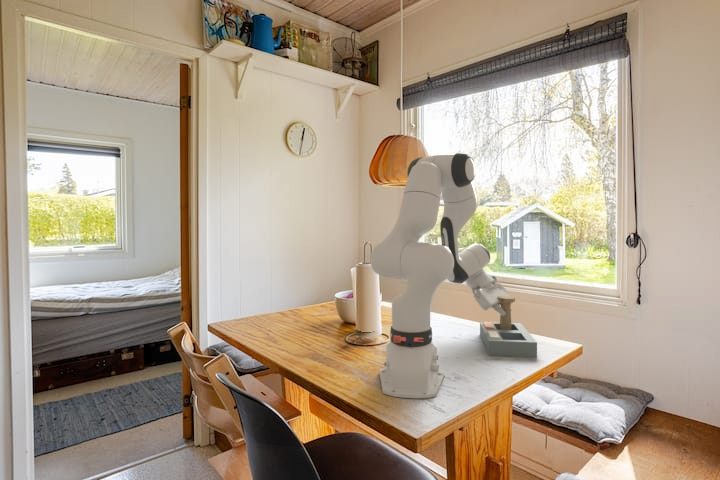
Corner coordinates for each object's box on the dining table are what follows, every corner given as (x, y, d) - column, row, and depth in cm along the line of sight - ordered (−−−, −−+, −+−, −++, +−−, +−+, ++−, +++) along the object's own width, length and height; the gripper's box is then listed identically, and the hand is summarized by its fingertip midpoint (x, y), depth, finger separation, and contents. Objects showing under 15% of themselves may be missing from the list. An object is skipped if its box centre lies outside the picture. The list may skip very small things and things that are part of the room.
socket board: (536, 357, 130) (537, 340, 130) (488, 355, 133) (488, 338, 132) (520, 336, 154) (520, 321, 153) (480, 334, 156) (480, 320, 156)
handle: (509, 340, 145) (510, 299, 144) (494, 336, 150) (494, 296, 149) (517, 337, 148) (517, 297, 147) (501, 333, 153) (501, 295, 152)
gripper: (476, 283, 144) (503, 313, 138) (497, 276, 160) (522, 303, 154) (464, 294, 147) (490, 324, 141) (486, 286, 163) (510, 313, 157)
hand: (507, 313), depth 148 cm, fingers closed on handle, 3 cm apart
